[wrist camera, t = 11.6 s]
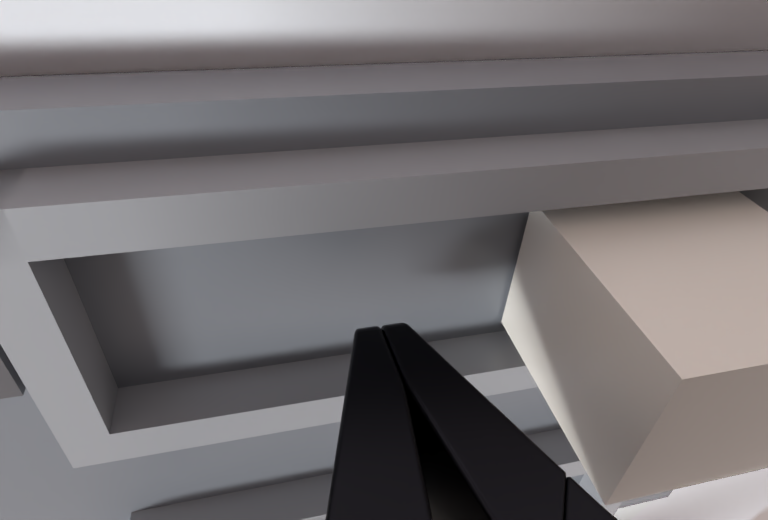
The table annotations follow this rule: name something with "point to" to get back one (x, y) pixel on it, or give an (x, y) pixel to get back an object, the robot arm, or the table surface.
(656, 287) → the tab
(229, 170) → the switch board
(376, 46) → the table surface
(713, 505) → the table surface
